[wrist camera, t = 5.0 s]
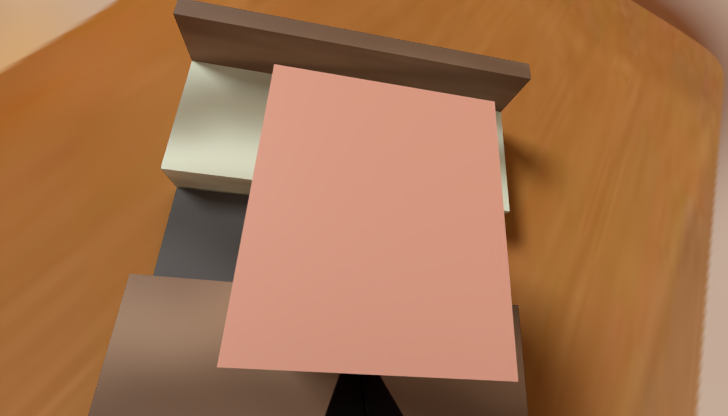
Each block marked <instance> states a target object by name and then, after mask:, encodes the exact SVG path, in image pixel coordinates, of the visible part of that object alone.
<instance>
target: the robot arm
mask: <svg viewBox="0 0 728 416" xmlns="http://www.w3.org/2000/svg"><path fill="white" fill-rule="evenodd" d="M325 416H404V415H403V414H402V412H401V410H400V409H399V407H398V405H397V403H396V402H395V400H394V398H393V397H392V395H391V393H390V391H389V390H388V388H387V386H386V385H385V383H384V381H383V380H382V378H381V376H380V375H367V374H347V373H339V376H338V379H337V382H336V385H335V388H334V390H333V393H332V396H331V399H330V402H329V405H328V407H327V410H326V413H325Z"/></svg>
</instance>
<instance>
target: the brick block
mask: <svg viewBox="0 0 728 416" xmlns="http://www.w3.org/2000/svg"><path fill="white" fill-rule="evenodd" d="M217 367H221V368H242V369H263V370H284V371H305V372H326V373H347V374H367V375H388V376H409V377H430V378H451V379H472V380H493V381H513V382H518V371H517V359H516V347H515V335H514V324H513V312H512V300H511V288H510V276H509V265H508V253H507V241H506V229H505V217H504V206H503V194H502V182H501V170H500V158H499V147H498V135H497V123H496V111H495V102H494V101H488V100H482V99H476V98H470V97H464V96H459V95H453V94H447V93H441V92H435V91H429V90H423V89H417V88H412V87H406V86H400V85H394V84H388V83H382V82H376V81H370V80H365V79H359V78H353V77H347V76H341V75H335V74H329V73H323V72H318V71H312V70H306V69H300V68H294V67H288V66H282V65H276V64H274V68H273V73H272V78H271V83H270V89H269V94H268V99H267V105H266V110H265V115H264V120H263V126H262V131H261V136H260V142H259V147H258V152H257V157H256V163H255V168H254V173H253V179H252V184H251V189H250V194H249V200H248V205H247V210H246V216H245V221H244V226H243V231H242V237H241V242H240V247H239V253H238V258H237V263H236V268H235V274H234V279H233V284H232V290H231V295H230V300H229V305H228V311H227V316H226V321H225V327H224V332H223V337H222V342H221V348H220V353H219V358H218V364H217Z"/></svg>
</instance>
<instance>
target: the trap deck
mask: <svg viewBox="0 0 728 416" xmlns="http://www.w3.org/2000/svg"><path fill="white" fill-rule="evenodd" d="M173 14H174V17H175V19H176V22H177V24H178V27H179V29H180V32H181V34H182V37H183V39H184V42H185V44H186V47H187V49H188V52H189V54H190V57H191V59H192V63H191V66H190V70H189V73H188V77H187V80H186V84H185V87H184V90H183V94H182V97H181V101H180V104H179V107H178V111H177V114H176V118H175V121H174V124H173V128H172V131H171V135H170V138H169V142H168V145H167V148H166V152H165V155H164V159H163V162H162V165H161V170H162V171H163V172H164V173H165V174H166V175H167V177H168V178H169V179H170V180H171V181H172V182H173V184H174V185H175V186H176V187H177V189H176V193H175V197H174V200H173V204H172V208H171V212H170V215H169V219H168V223H167V226H166V230H165V234H164V238H163V241H162V245H161V249H160V252H159V256H158V260H157V264H156V267H155V271H154V275H153V276H151V275H139V274H130V275H129V278H128V281H127V285H126V288H125V292H124V295H123V298H122V302H121V305H120V309H119V312H118V316H117V319H116V322H115V326H114V329H113V333H112V336H111V339H110V343H109V346H108V350H107V353H106V356H105V360H104V363H103V367H102V370H101V373H100V377H99V380H98V384H97V387H96V391H95V394H94V397H93V401H92V404H91V408H90V411H89V414H88V416H325V413H326V410H327V407H328V405H329V402H330V399H331V396H332V393H333V390H334V388H335V385H336V382H337V379H338V376H339V373H326V372H305V371H284V370H263V369H242V368H221V367H217V364H218V358H219V353H220V348H221V342H222V337H223V332H224V327H225V321H226V316H227V311H228V305H229V300H230V295H231V290H232V284H233V279H234V274H235V268H236V263H237V258H238V253H239V247H240V242H241V237H242V231H243V226H244V221H245V216H246V210H247V205H248V200H249V194H250V189H251V184H252V179H253V173H254V168H255V163H256V157H257V152H258V147H259V142H260V136H261V131H262V126H263V120H264V115H265V110H266V105H267V99H268V94H269V89H270V83H271V78H272V73H273V68H274V64H276V65H282V66H288V67H294V68H300V69H306V70H312V71H318V72H323V73H329V74H335V75H341V76H347V77H353V78H359V79H365V80H370V81H376V82H382V83H388V84H394V85H400V86H406V87H412V88H417V89H423V90H429V91H435V92H441V93H447V94H453V95H459V96H464V97H470V98H476V99H482V100H488V101H494V102H495V111H496V123H497V135H498V147H499V158H500V170H501V182H502V194H503V206H504V214H506V213H508V212H509V211H510V209H509V198H508V187H507V176H506V165H505V154H504V143H503V132H502V121H501V111H502V110H503V109H504V108H505V107H506V106H507V104H508V103H509V102H510V101H511V100H512V99H513V98H514V97H515V96H516V95H517V94H518V92H519V91H520V90H521V89H522V88H523V87H524V86H525V85H526V84H527V83H528V82H529V80H530V79H531V75H530V68H529V64H526V63H521V62H516V61H511V60H505V59H500V58H495V57H489V56H484V55H479V54H474V53H468V52H463V51H458V50H452V49H447V48H442V47H437V46H431V45H426V44H421V43H415V42H410V41H405V40H400V39H394V38H389V37H384V36H378V35H373V34H368V33H363V32H357V31H352V30H347V29H342V28H336V27H331V26H326V25H320V24H315V23H310V22H305V21H299V20H294V19H289V18H283V17H278V16H273V15H268V14H262V13H257V12H252V11H246V10H241V9H236V8H231V7H225V6H220V5H215V4H209V3H204V2H199V1H194V0H178V1H177V4H176V7H175V10H174V13H173ZM512 312H513V324H514V335H515V347H516V359H517V371H518V382H513V381H493V380H472V379H451V378H430V377H409V376H388V375H380V376H381V378H382V380H383V381H384V383H385V385H386V386H387V388H388V390H389V391H390V393H391V395H392V397H393V398H394V400H395V402H396V403H397V405H398V407H399V409H400V410H401V412H402V414H403V415H404V416H528V407H527V396H526V385H525V374H524V363H523V352H522V341H521V330H520V319H519V308H518V305H512Z"/></svg>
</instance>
